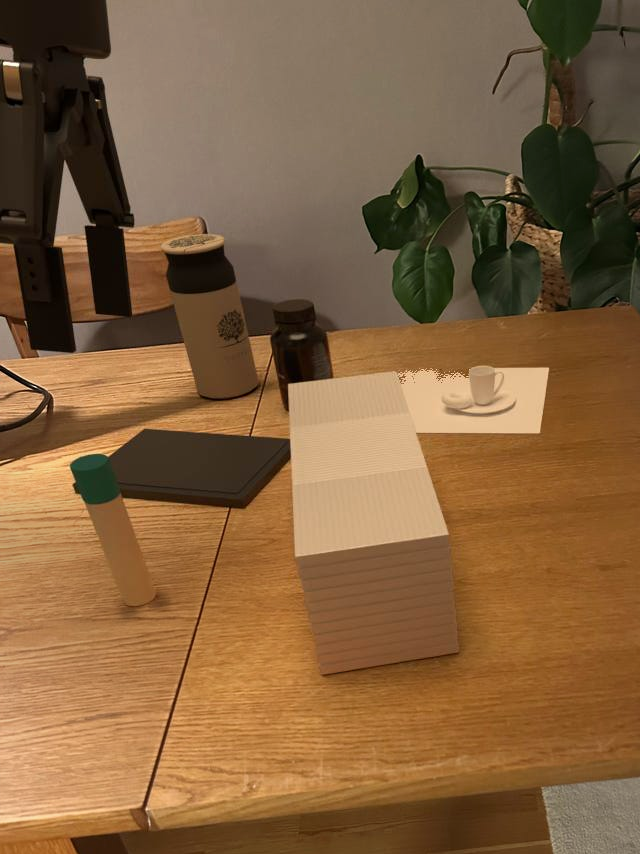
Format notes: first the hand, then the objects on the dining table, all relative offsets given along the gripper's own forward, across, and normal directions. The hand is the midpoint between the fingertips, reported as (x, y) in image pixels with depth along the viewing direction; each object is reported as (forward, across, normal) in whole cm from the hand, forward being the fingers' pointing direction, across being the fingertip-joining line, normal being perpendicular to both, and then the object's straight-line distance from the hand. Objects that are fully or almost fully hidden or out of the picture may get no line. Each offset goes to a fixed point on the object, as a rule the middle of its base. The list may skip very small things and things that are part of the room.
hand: (86, 331), depth 63 cm
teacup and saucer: (+12, +37, -32) cm, 50 cm away
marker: (+22, -1, -2) cm, 22 cm away
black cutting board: (+19, +23, -1) cm, 30 cm away
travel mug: (+16, +46, -1) cm, 49 cm away
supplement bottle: (+15, +39, -13) cm, 44 cm away
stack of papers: (+18, +2, -22) cm, 29 cm away
